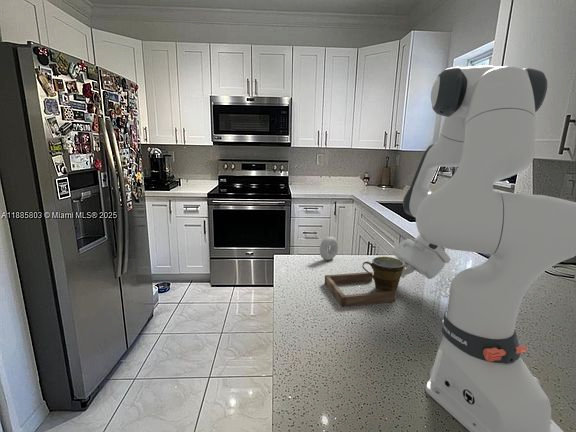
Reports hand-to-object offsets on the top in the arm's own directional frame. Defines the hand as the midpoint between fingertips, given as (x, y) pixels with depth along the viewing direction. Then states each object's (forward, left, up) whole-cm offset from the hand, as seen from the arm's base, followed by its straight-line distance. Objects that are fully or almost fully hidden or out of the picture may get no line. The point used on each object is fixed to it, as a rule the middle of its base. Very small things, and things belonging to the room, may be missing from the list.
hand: (399, 275), depth 105 cm
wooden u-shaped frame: (0, +14, -5) cm, 15 cm away
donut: (+30, +14, -5) cm, 34 cm away
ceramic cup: (0, +6, -5) cm, 8 cm away
